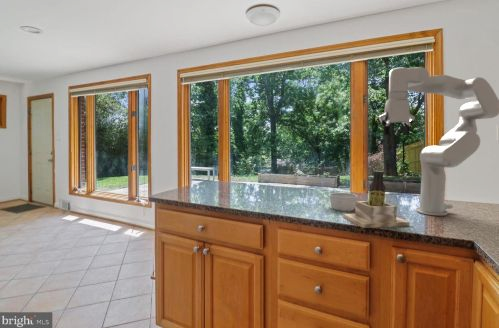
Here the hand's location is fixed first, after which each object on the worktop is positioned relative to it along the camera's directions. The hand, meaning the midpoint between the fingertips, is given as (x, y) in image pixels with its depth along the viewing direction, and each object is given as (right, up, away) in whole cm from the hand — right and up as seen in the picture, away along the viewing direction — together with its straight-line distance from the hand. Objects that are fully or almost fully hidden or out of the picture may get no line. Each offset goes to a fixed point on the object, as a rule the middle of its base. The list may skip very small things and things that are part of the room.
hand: (396, 135), depth 128 cm
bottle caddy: (-13, -37, -8) cm, 40 cm away
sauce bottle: (-13, -36, -9) cm, 39 cm away
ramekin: (-19, -36, +15) cm, 43 cm away
